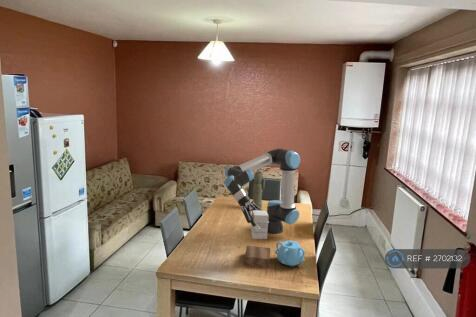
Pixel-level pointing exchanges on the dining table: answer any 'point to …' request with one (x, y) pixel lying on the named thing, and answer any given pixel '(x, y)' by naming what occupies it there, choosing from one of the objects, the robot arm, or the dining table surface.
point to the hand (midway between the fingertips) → (263, 226)
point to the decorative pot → (290, 253)
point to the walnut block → (257, 256)
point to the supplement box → (260, 224)
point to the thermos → (258, 188)
